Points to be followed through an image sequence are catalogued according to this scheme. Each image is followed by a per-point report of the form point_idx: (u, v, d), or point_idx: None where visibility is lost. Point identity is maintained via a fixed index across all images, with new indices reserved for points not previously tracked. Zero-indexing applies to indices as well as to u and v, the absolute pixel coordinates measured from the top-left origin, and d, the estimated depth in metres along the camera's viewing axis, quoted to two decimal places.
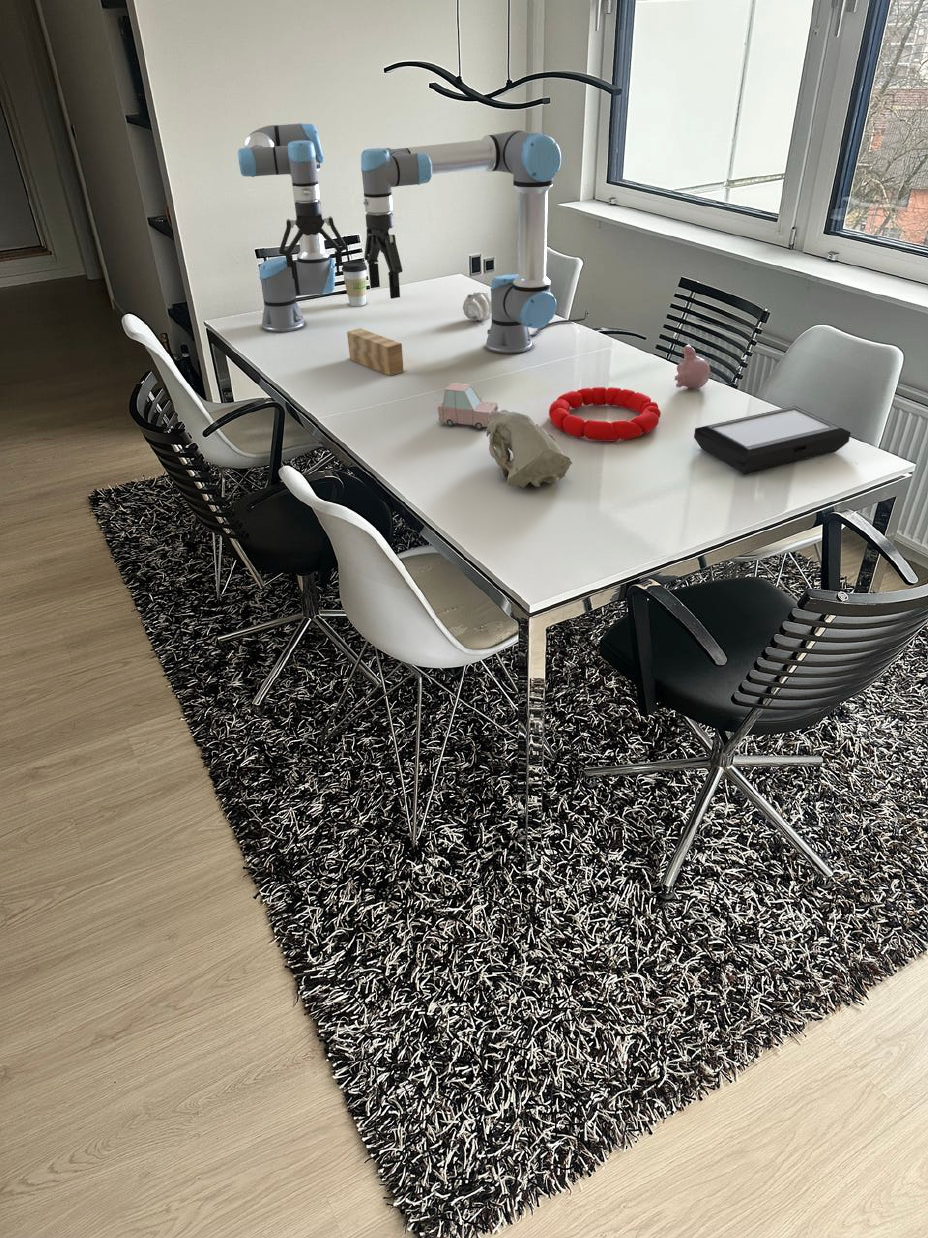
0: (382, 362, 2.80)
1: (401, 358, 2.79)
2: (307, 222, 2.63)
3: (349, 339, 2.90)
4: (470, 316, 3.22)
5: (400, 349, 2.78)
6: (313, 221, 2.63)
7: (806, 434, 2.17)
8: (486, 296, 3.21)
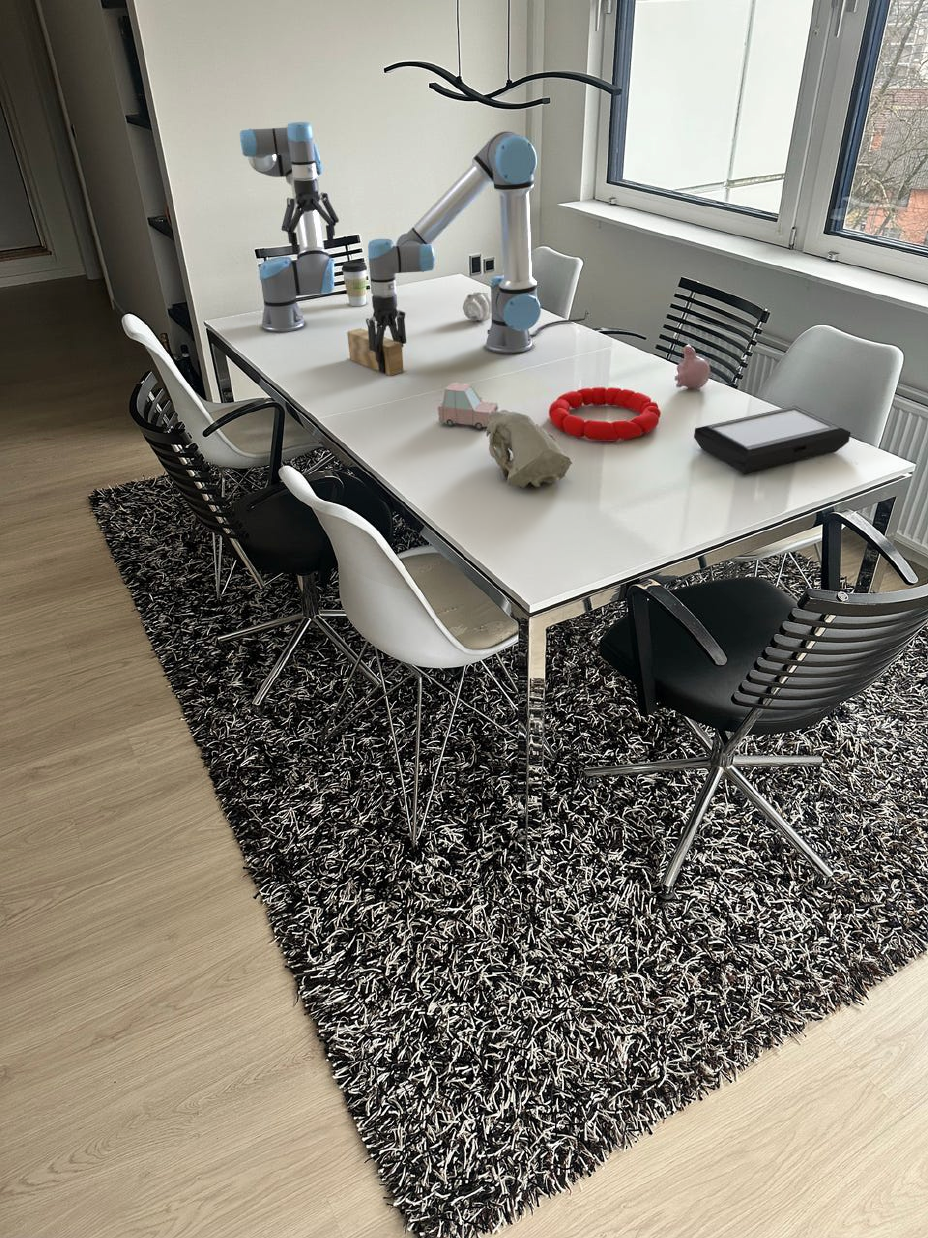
0: None
1: (401, 358, 2.79)
2: (307, 199, 2.81)
3: (349, 339, 2.90)
4: (470, 316, 3.22)
5: (400, 349, 2.78)
6: (312, 197, 2.82)
7: (806, 434, 2.17)
8: (486, 296, 3.21)
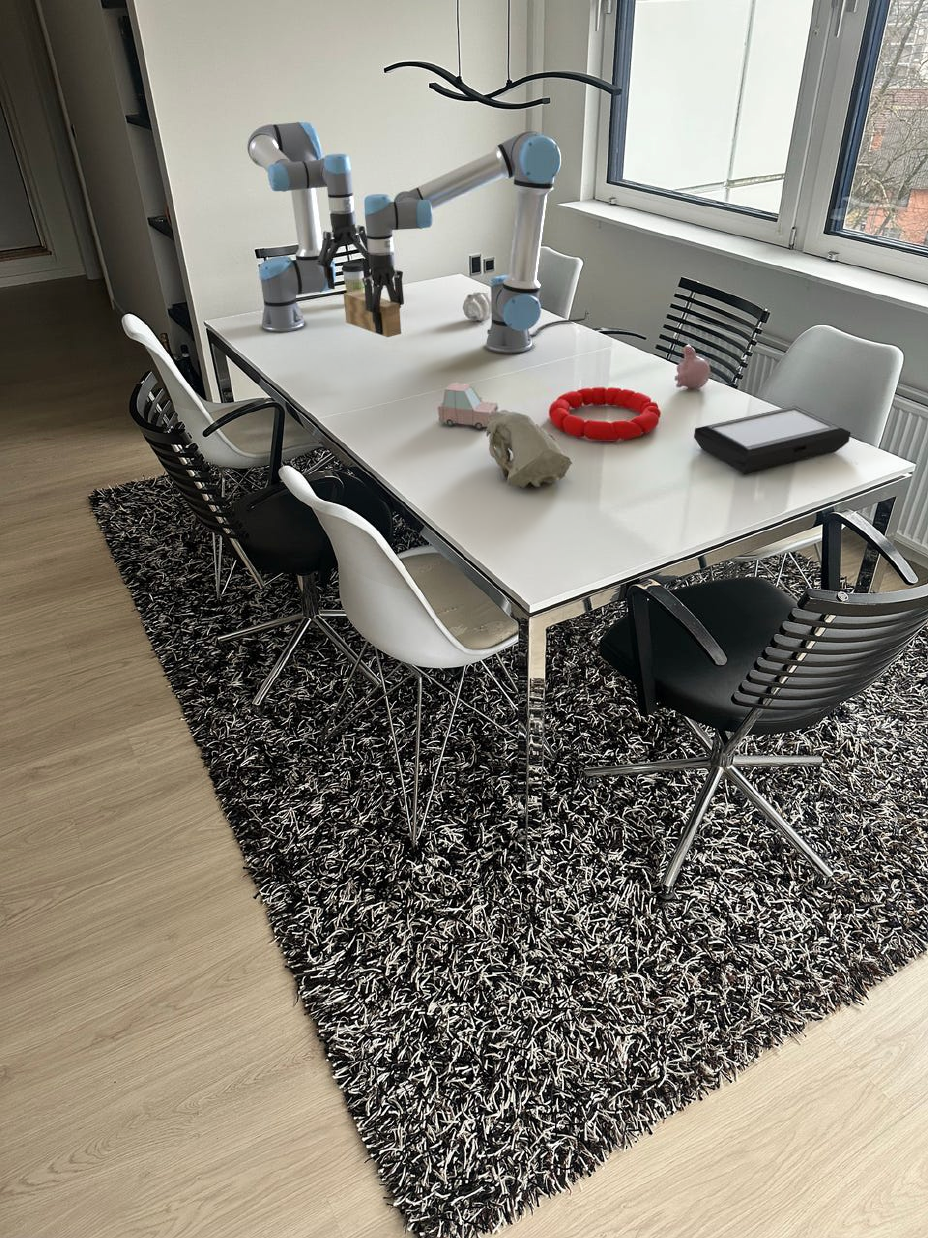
0: None
1: (399, 319, 2.73)
2: (344, 232, 2.72)
3: (345, 301, 2.83)
4: (470, 316, 3.22)
5: (398, 310, 2.71)
6: (349, 231, 2.73)
7: (806, 434, 2.17)
8: (486, 296, 3.21)
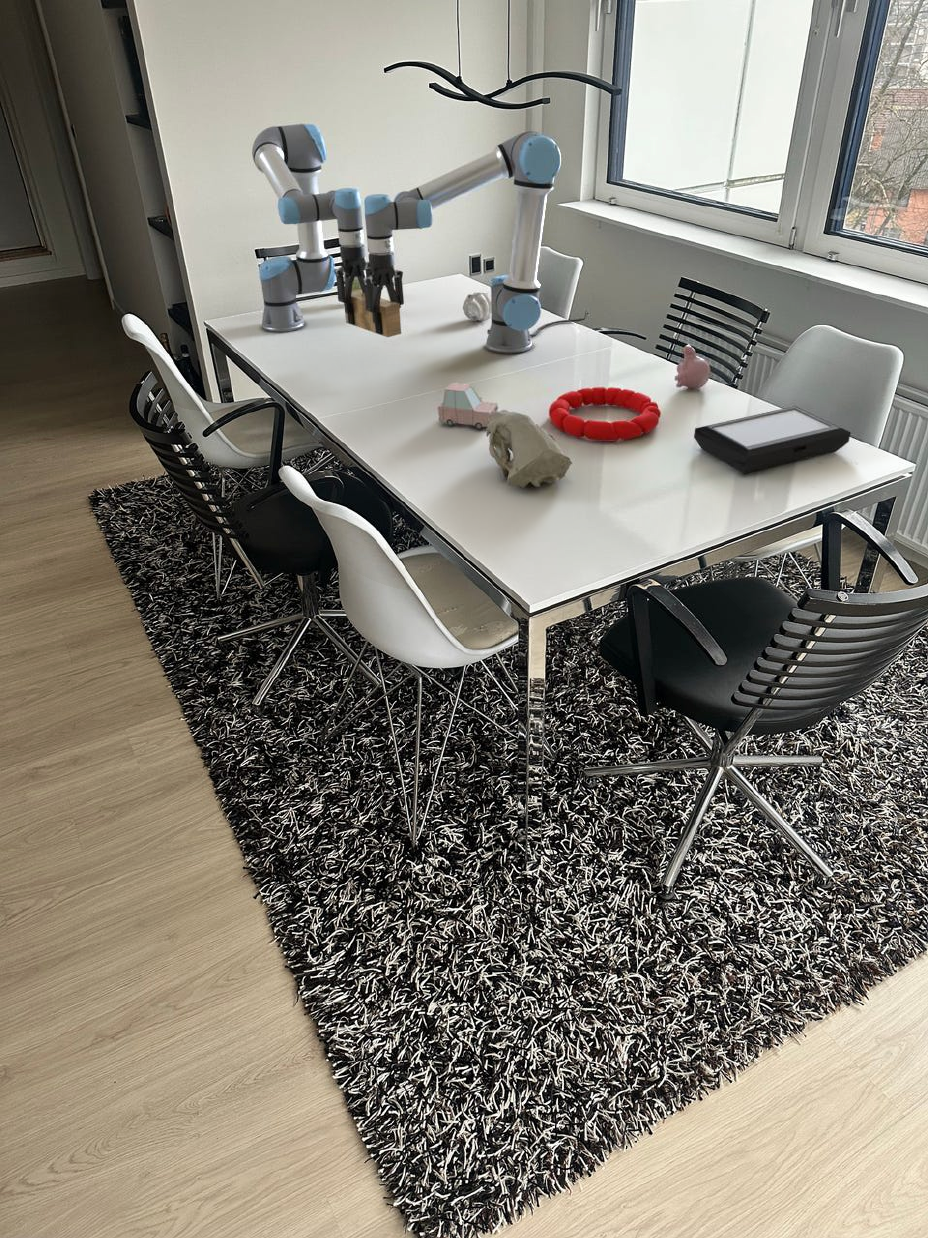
0: None
1: (399, 319, 2.73)
2: (353, 262, 2.74)
3: None
4: (470, 316, 3.22)
5: (398, 309, 2.71)
6: (359, 263, 2.76)
7: (806, 434, 2.17)
8: (486, 296, 3.21)
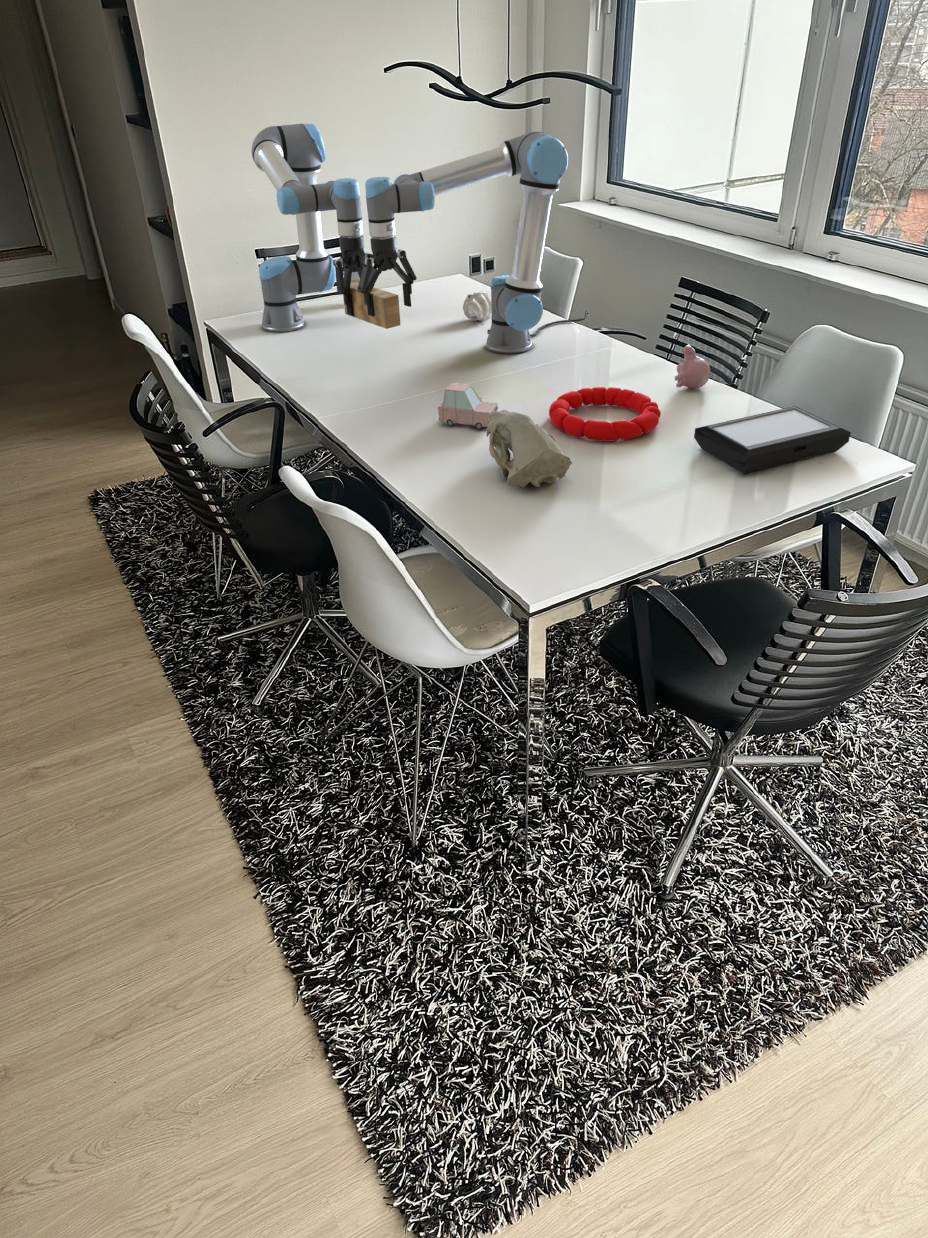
0: (379, 314, 2.72)
1: (398, 310, 2.71)
2: (352, 252, 2.73)
3: None
4: (470, 316, 3.22)
5: (397, 301, 2.70)
6: (358, 254, 2.74)
7: (806, 434, 2.17)
8: (486, 296, 3.21)
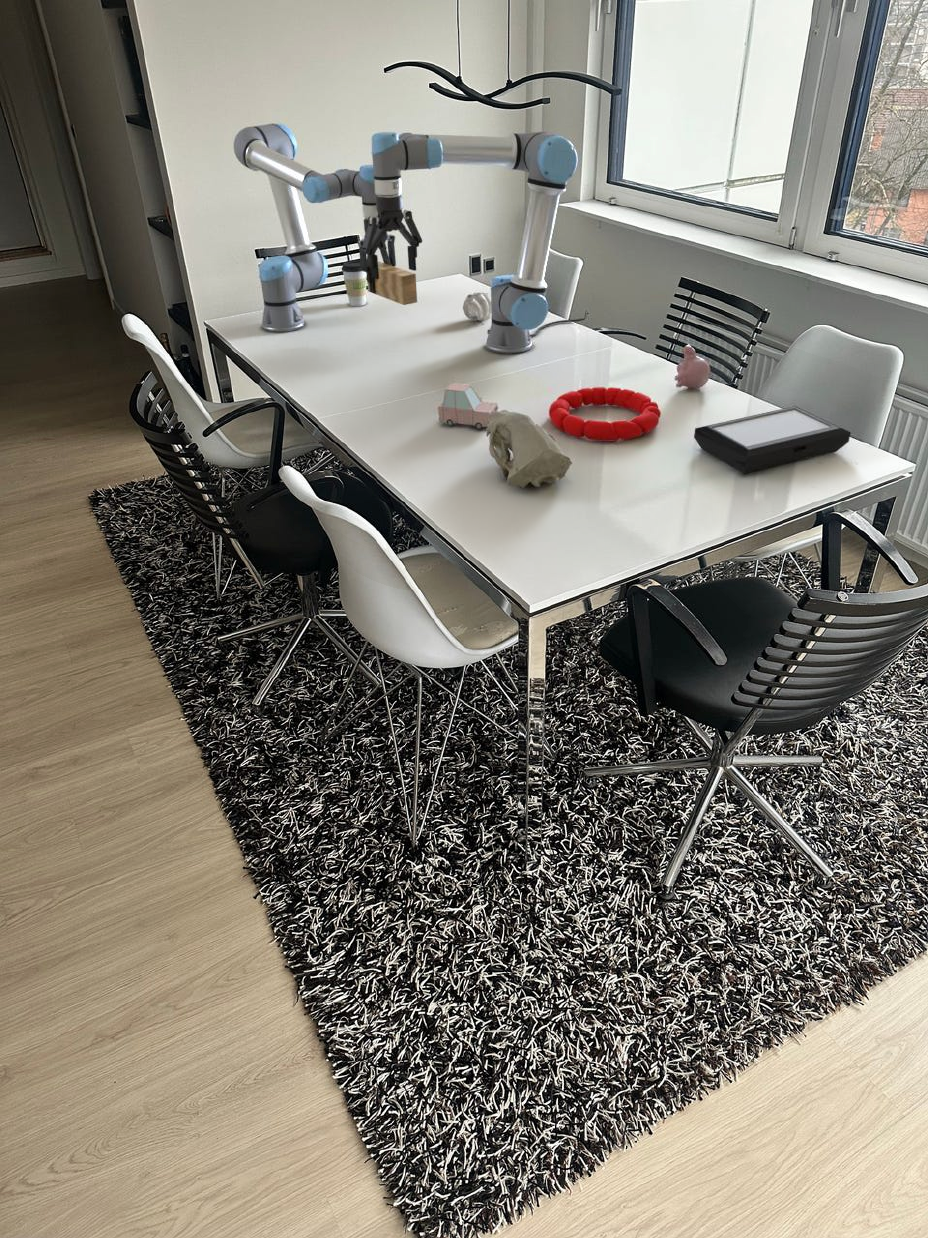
0: (397, 291, 2.93)
1: (415, 288, 2.92)
2: None
3: None
4: (470, 316, 3.22)
5: (414, 279, 2.90)
6: None
7: (806, 434, 2.17)
8: (486, 296, 3.21)
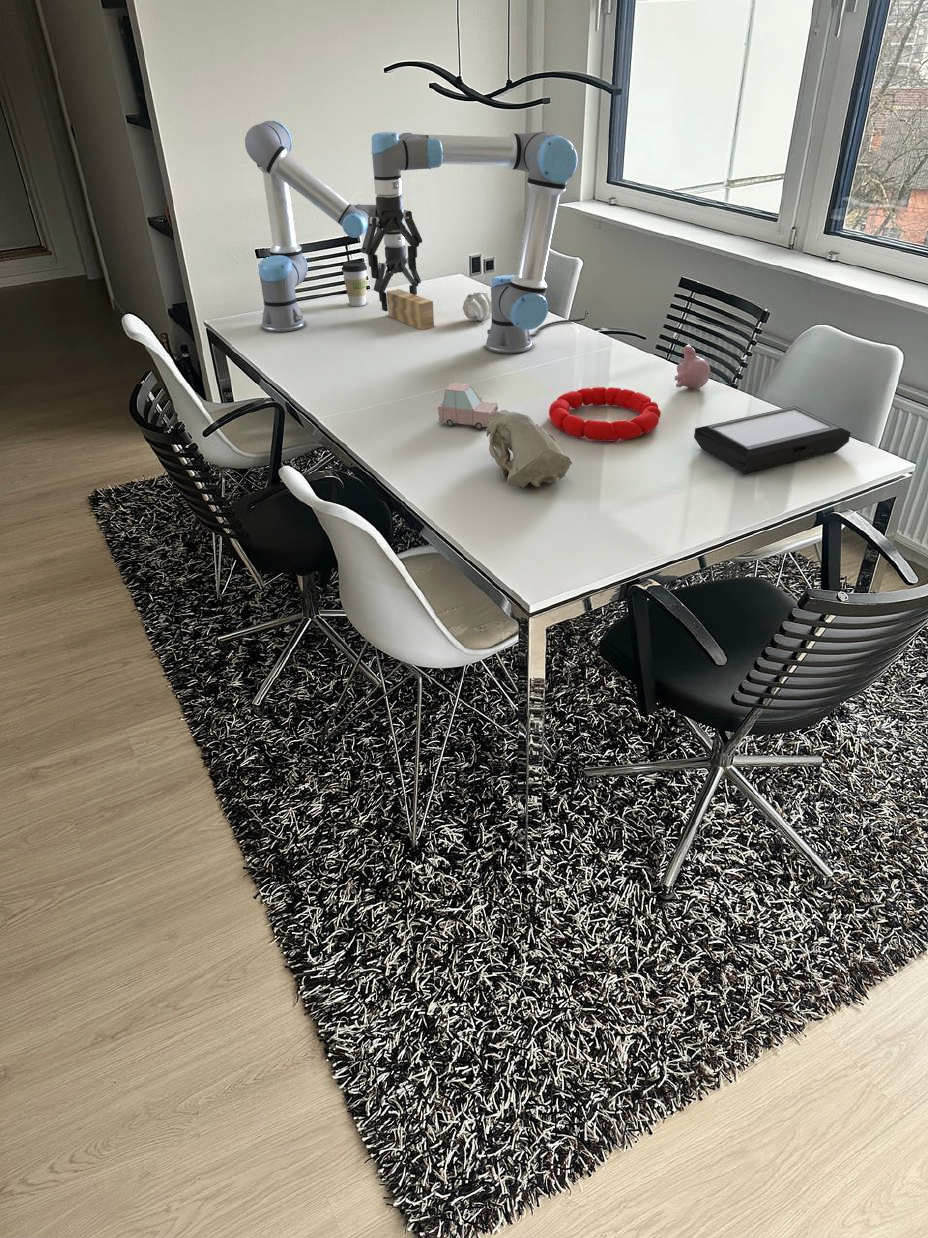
0: (416, 317, 3.19)
1: (432, 314, 3.18)
2: (396, 262, 3.20)
3: (388, 298, 3.29)
4: (470, 316, 3.22)
5: (431, 306, 3.17)
6: (400, 261, 3.21)
7: (806, 434, 2.17)
8: (486, 296, 3.21)
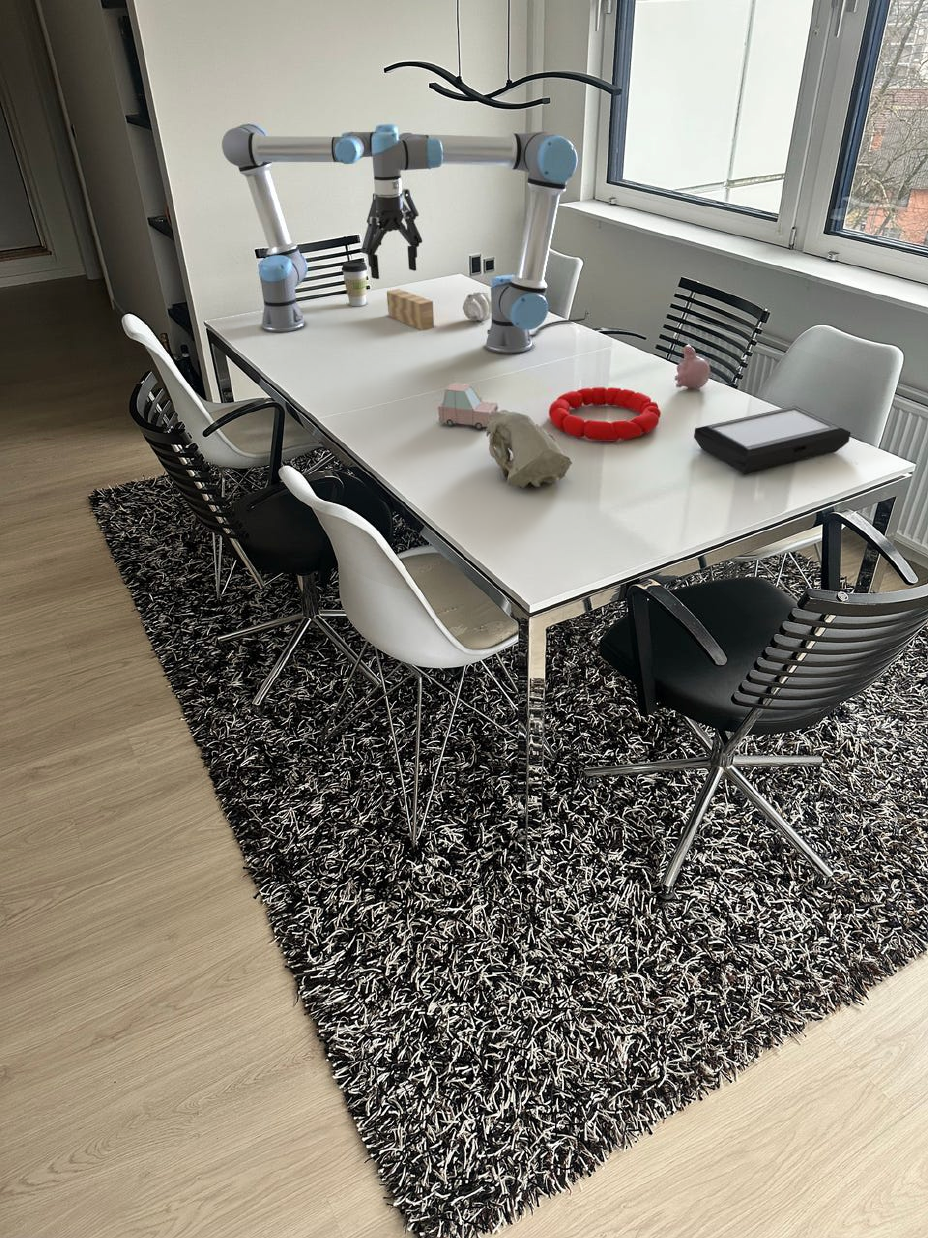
0: (416, 317, 3.19)
1: (432, 314, 3.18)
2: None
3: (388, 298, 3.29)
4: (470, 316, 3.22)
5: (431, 306, 3.17)
6: None
7: (806, 434, 2.17)
8: (486, 296, 3.21)
